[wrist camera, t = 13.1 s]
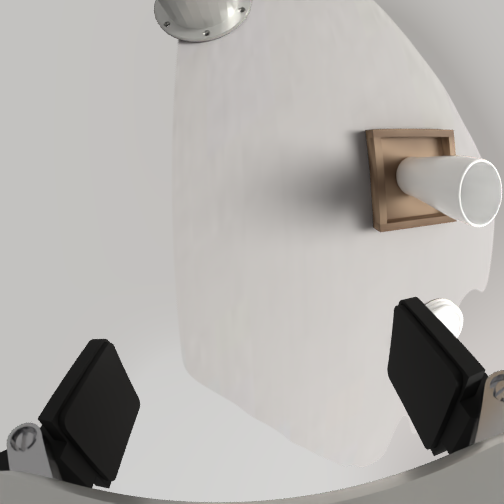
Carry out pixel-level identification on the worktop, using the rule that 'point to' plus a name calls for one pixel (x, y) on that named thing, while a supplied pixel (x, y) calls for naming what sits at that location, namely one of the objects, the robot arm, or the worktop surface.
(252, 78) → the worktop surface
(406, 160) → the white tall cup
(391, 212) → the tray
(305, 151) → the worktop surface
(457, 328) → the white cup lid
